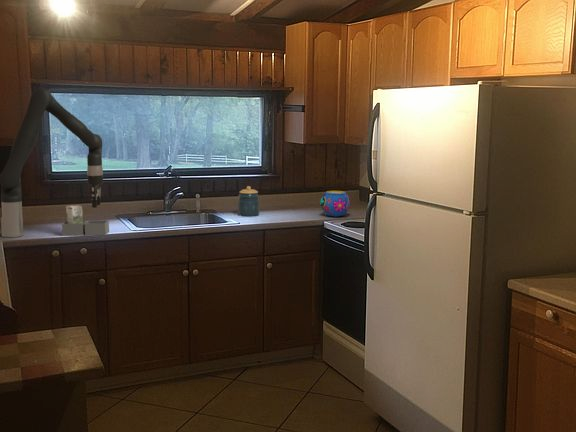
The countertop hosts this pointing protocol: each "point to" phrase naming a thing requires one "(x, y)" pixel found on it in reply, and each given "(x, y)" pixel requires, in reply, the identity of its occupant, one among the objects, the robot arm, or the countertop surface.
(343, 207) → the ceramic pot
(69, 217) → the syrup box
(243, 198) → the canister
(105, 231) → the bin
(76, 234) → the bin
